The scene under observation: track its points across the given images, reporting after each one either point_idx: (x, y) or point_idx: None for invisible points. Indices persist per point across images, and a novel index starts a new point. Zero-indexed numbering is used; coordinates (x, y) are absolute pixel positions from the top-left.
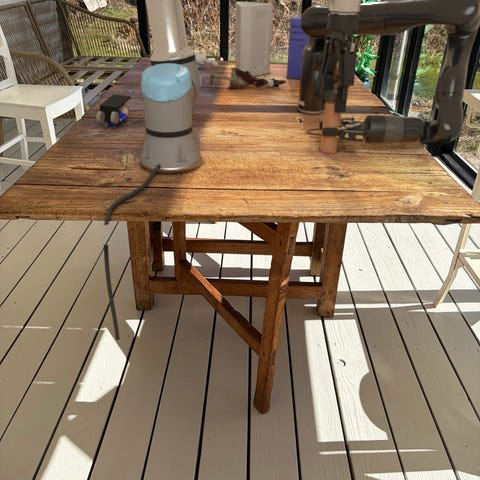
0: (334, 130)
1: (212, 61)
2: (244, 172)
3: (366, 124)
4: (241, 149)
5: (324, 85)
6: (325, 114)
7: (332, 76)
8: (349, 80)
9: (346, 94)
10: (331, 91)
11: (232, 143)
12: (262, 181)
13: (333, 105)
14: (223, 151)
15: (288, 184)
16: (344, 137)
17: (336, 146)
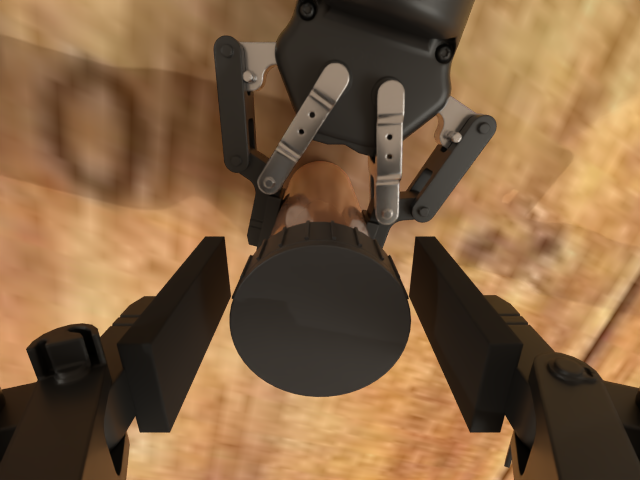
0: (383, 235)
1: None
2: (416, 454)
3: (382, 28)
4: (257, 429)
5: (186, 384)
6: None
7: (109, 375)
8: (611, 418)
9: (525, 330)
10: (298, 347)
11: (204, 438)
12: (483, 435)
13: None
14: (264, 466)
15: None
16: (419, 192)
17: (348, 179)
